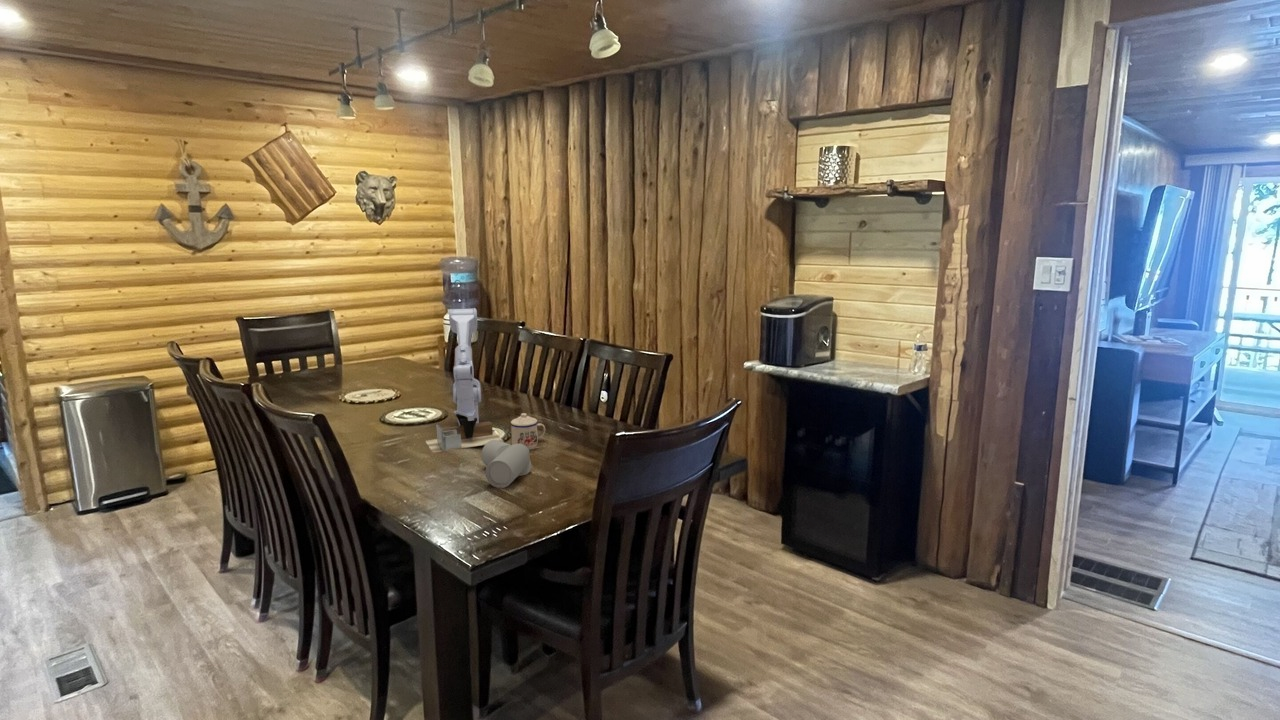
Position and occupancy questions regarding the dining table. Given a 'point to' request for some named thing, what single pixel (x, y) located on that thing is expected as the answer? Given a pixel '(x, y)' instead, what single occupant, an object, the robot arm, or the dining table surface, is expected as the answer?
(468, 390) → the robot arm
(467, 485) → the dining table surface
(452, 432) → the bracket
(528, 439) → the teacup with lid
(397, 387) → the dining table surface
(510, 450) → the elbow connector
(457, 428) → the rail
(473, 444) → the base board
